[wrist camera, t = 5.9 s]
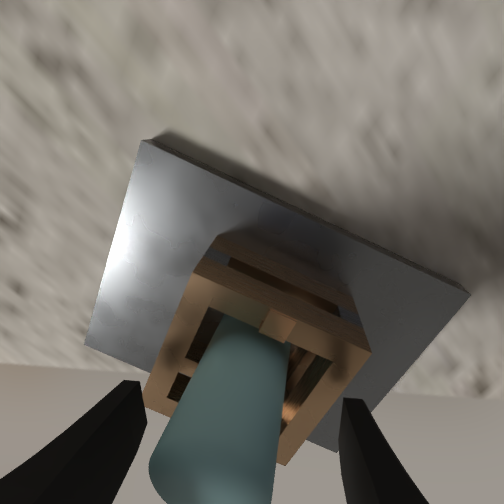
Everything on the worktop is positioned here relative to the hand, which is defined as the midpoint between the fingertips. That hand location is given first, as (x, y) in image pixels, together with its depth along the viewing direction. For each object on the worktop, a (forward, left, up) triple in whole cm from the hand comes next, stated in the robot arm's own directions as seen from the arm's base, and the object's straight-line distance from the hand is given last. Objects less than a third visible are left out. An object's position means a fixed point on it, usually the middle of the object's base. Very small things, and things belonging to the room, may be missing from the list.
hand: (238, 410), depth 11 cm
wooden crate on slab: (0, 0, -6) cm, 6 cm away
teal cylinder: (0, 0, -5) cm, 5 cm away
